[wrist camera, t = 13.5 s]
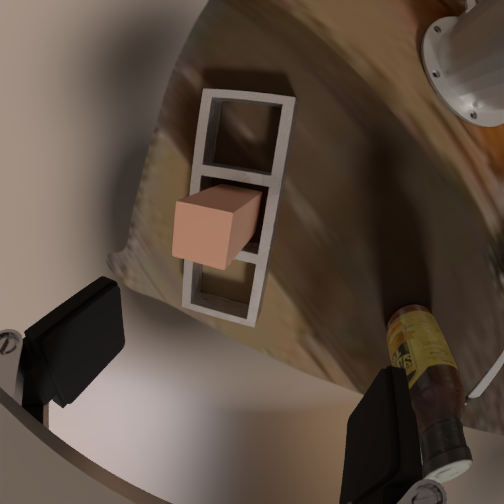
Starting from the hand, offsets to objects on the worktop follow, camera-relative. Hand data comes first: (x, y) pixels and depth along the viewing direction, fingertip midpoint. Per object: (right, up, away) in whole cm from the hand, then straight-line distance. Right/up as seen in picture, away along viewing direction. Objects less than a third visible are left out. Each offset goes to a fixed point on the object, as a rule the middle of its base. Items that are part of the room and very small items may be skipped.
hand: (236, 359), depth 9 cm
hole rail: (-1, +8, +21) cm, 23 cm away
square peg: (-1, +8, +21) cm, 23 cm away
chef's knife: (+36, -17, +21) cm, 45 cm away
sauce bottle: (+19, -5, +21) cm, 29 cm away
